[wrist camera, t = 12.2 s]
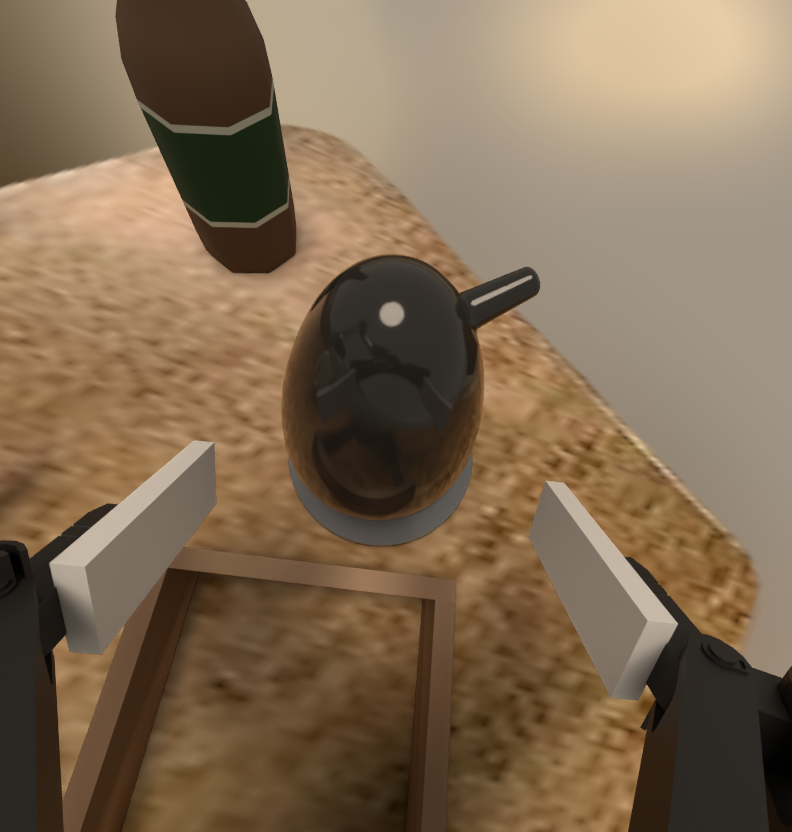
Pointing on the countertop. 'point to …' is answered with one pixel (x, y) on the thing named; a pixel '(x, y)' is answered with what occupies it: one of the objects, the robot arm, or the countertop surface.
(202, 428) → the countertop surface
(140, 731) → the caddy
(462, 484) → the coaster
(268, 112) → the beer bottle
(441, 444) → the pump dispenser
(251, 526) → the countertop surface
